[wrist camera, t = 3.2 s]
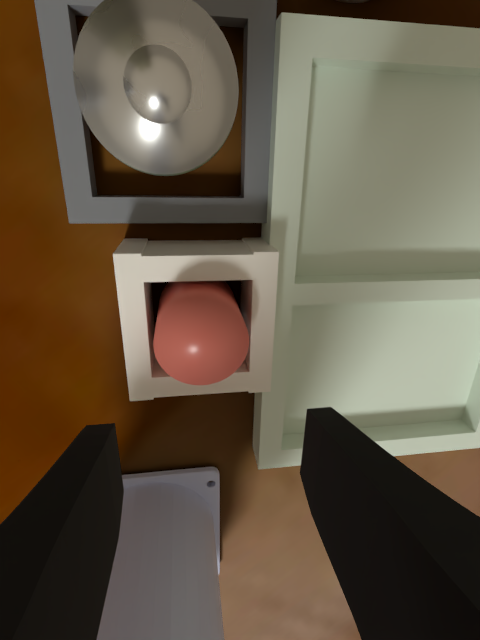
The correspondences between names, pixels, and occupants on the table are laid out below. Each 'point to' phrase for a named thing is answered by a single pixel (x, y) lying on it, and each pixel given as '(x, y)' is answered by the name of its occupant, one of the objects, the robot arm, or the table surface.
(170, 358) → the button
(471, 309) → the trough tray
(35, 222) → the table surface
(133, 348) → the frame
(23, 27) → the table surface
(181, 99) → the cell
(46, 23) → the cradle
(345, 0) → the cup
